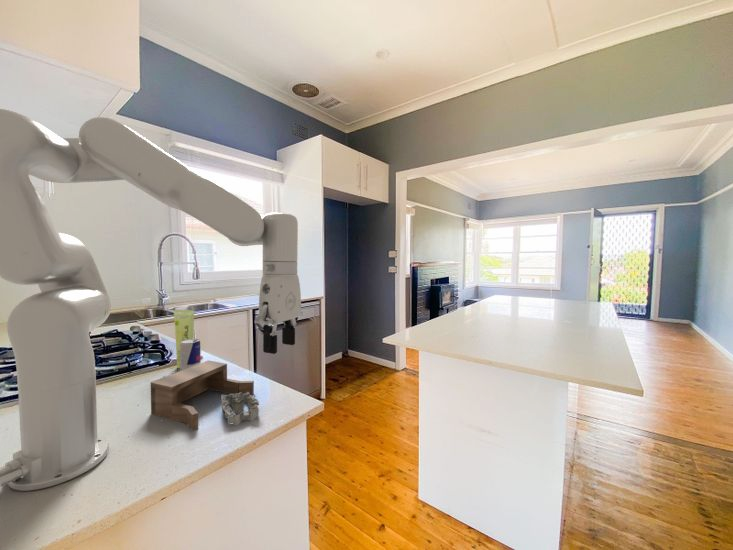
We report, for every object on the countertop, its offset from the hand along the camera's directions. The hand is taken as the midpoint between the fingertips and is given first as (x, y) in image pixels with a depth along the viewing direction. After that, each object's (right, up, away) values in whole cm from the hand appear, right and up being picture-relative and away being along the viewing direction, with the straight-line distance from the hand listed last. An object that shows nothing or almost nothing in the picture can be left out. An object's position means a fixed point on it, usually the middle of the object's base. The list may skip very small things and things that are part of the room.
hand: (279, 347), depth 68 cm
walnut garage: (-22, -17, +9) cm, 29 cm away
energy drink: (-34, -16, +24) cm, 44 cm away
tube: (-42, -15, +34) cm, 56 cm away
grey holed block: (-11, -18, +5) cm, 21 cm away
